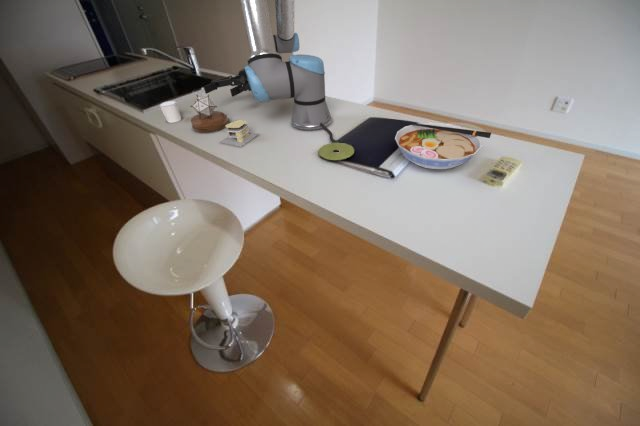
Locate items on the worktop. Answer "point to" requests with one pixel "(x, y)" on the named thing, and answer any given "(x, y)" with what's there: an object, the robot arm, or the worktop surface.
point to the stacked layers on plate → (238, 133)
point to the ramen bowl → (438, 144)
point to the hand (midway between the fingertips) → (218, 91)
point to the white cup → (171, 111)
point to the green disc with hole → (329, 149)
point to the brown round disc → (209, 122)
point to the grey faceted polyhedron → (203, 106)
